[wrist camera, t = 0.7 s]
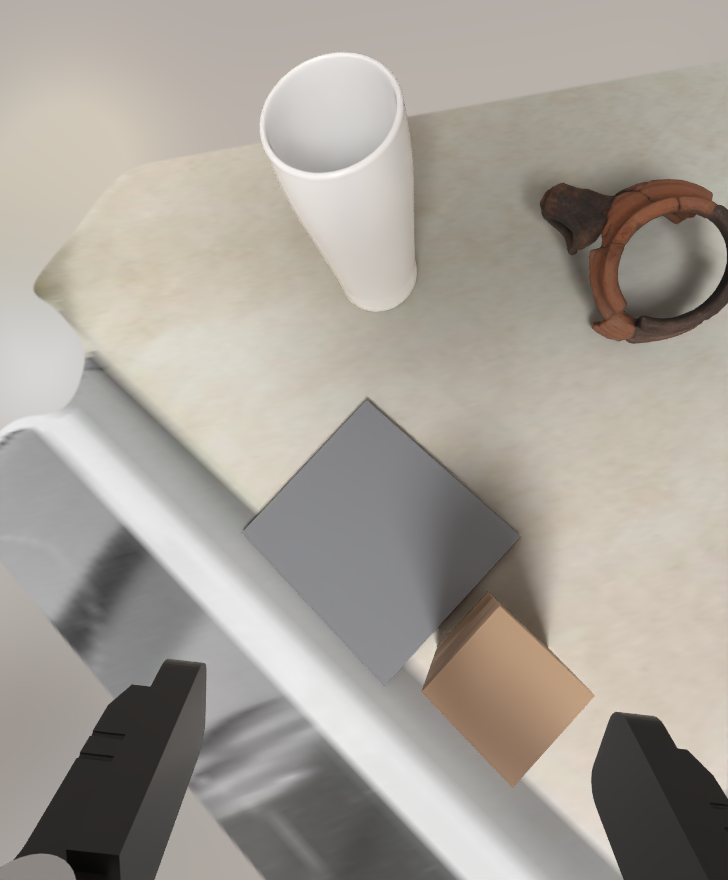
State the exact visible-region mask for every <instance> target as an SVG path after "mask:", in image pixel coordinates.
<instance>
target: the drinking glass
mask: <svg viewBox="0 0 728 880" xmlns="http://www.w3.org/2000/svg"><path fill="white" fill-rule="evenodd" d="M259 127H260V128H259V129H260V138H261V142H262V145H263V148H264V150H265V152H266V155H267V157H268V160H269V162H270V164H271V167H272V169H273V172H274V174H275V176H276V179H277V181H278V183H279V185H280V187H281V189H282V191H283V193H284V195H285V197H286V199H287V201H288V203H289V204H290V206H291V208H292V210H293V211H294V213H295V215H296V216H297V218H298V220H299V221H300V223H301V224H302V226H303V227H304V229H305V230H306V232H307V233H308V235H309V236H310V238H311V239H312V241H313V243H314V244H315V246H316V247H317V249H318V250H319V252H320V253H321V255H322V256H323V258H324V259H325V261H326V262H327V264H328V266H329V267H330V269H331V270H332V272H333V273H334V275H335V277H336V278H337V280H338V281H339V283H340V285H341V288H342V290H343V292H344V294H345V295H346V297H347V298H348V299H349V300H350V301H351V302H352V303H353V304H354V305H355V306H357V307H359V308H361V309H363V310H367V311H372V312H380V311H386V310H389V309H392V308H394V307H396V306H398V305H399V304H401V303H402V302H403V301H404V300H405V299H406V298H407V297H408V296H409V295H410V293H411V292H412V290H413V288H414V286H415V282H416V278H417V266H416V260H415V236H414V168H413V155H412V146H411V138H410V131H409V125H408V120H407V115H406V110H405V105H404V100H403V94H402V91H401V88H400V85H399V83H398V81H397V79H396V78H395V76H394V75H393V73H392V72H391V71H390V70H389V69H388V68H387V67H386V66H385V65H383V64H382V63H381V62H379V61H377V60H375V59H374V58H371V57H369V56H366V55H363V54H359V53H352V52H334V53H328V54H323V55H320V56H317V57H314V58H311V59H309V60H307V61H305V62H303V63H301V64H299V65H297V66H296V67H294V68H293V69H292V70H290V71H289V72H288V73H286V74H285V75H284V76H283V77H282V78H281V79H280V80H279V81H278V82H277V84H276V85H275V86H274V87H273V89H272V90H271V92H270V93H269V95H268V97H267V99H266V101H265V103H264V105H263V108H262V112H261V116H260V126H259Z"/></svg>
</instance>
